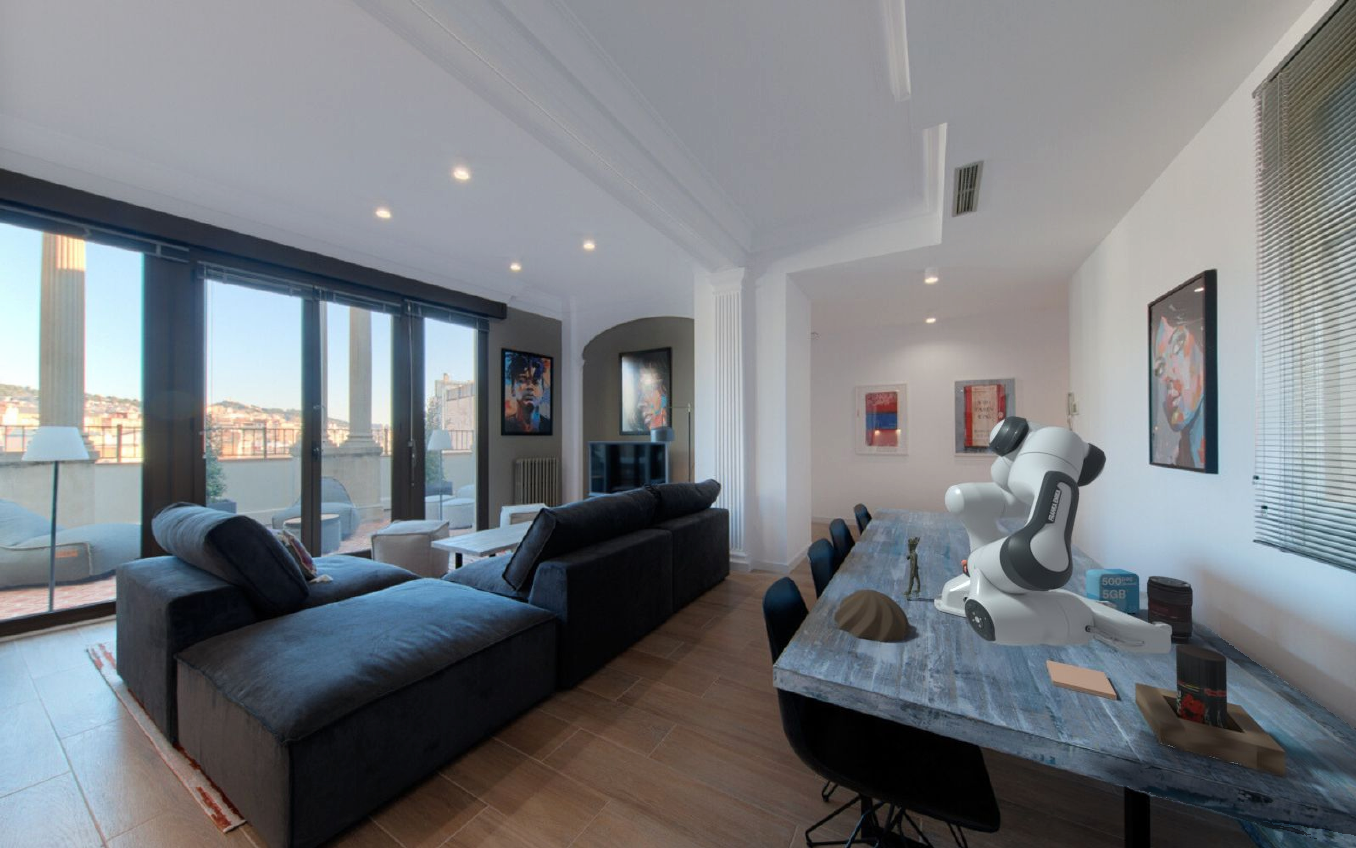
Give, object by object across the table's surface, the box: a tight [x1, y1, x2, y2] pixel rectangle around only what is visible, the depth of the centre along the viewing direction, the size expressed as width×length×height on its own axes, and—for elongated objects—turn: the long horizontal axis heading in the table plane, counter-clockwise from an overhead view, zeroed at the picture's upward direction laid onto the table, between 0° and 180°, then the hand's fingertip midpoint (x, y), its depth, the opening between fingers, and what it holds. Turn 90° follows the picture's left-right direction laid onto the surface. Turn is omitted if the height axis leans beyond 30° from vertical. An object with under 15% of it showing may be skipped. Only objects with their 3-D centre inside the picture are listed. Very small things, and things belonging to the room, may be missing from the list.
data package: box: [1085, 568, 1141, 614], centre depth 134 cm, size 12×4×12 cm, turn 90°
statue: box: [901, 536, 921, 601], centre depth 146 cm, size 5×6×20 cm
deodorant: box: [1175, 643, 1228, 729], centre depth 81 cm, size 6×6×15 cm
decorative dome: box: [833, 589, 911, 643], centre depth 127 cm, size 19×20×10 cm
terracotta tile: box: [1045, 659, 1118, 701], centre depth 98 cm, size 10×10×1 cm
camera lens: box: [1146, 575, 1194, 645], centre depth 117 cm, size 8×8×15 cm
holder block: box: [1134, 682, 1287, 778], centre depth 81 cm, size 14×14×4 cm
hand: (1138, 617), depth 81 cm, fingers open, 8 cm apart
